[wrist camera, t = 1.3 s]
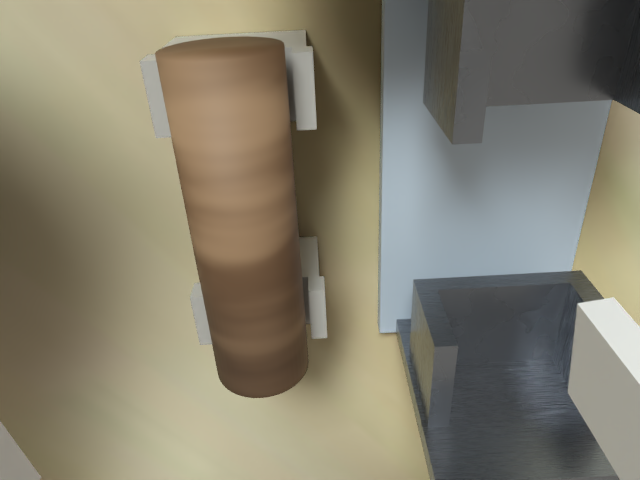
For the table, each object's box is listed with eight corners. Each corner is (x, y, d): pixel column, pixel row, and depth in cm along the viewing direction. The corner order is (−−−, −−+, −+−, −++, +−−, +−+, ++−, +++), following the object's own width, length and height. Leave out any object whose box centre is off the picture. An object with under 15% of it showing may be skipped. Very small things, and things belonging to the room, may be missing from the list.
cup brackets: (393, 321, 33) (434, 499, 23) (406, -64, 22) (495, -59, 12) (536, 314, 33) (642, 488, 23) (616, -75, 22) (886, -80, 12)
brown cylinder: (308, 331, 28) (308, 395, 24) (224, 335, 28) (211, 400, 24) (286, 33, 20) (282, 57, 17) (170, 39, 20) (139, 65, 17)
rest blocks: (214, 285, 31) (200, 344, 27) (170, 36, 24) (139, 61, 20) (323, 279, 31) (327, 337, 27) (311, 29, 24) (313, 51, 20)
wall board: (377, 322, 33) (379, 332, 32) (382, -62, 22) (385, -62, 21) (552, 313, 33) (558, 323, 32) (640, -76, 22) (653, -76, 21)
